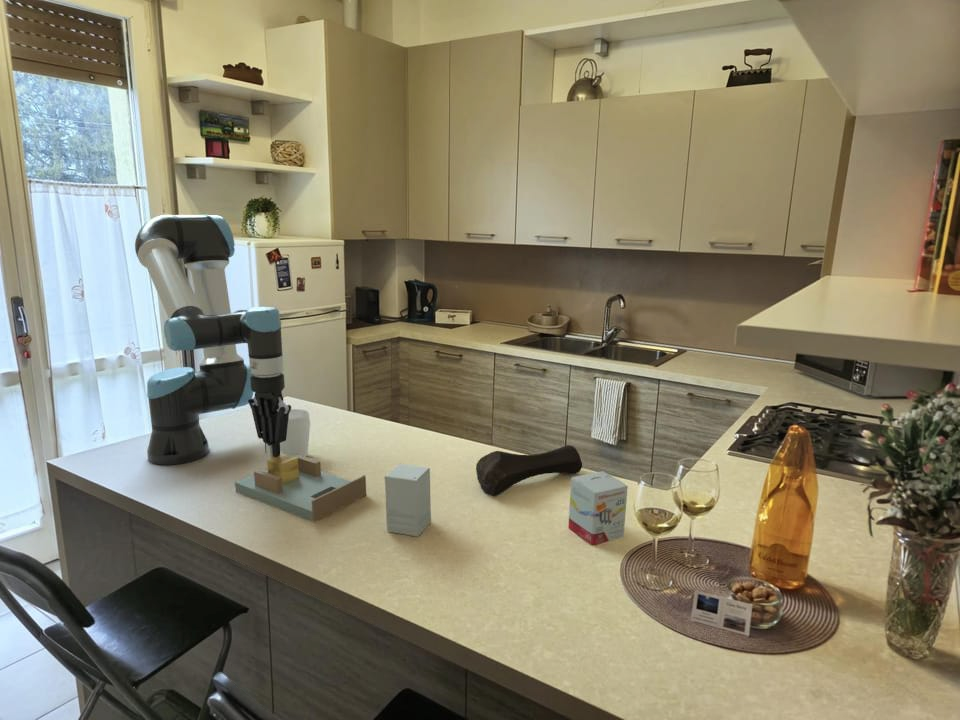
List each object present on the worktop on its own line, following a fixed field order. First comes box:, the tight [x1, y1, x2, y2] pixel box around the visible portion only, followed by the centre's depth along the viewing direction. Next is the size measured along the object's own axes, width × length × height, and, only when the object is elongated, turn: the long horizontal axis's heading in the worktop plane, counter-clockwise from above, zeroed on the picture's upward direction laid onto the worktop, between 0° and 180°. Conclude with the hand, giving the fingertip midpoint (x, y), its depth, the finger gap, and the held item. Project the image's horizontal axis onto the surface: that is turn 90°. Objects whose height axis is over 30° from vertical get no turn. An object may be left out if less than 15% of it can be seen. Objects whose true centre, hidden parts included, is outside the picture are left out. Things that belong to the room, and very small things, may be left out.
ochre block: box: [266, 454, 299, 484], centre depth 151 cm, size 5×5×5 cm
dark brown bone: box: [475, 445, 583, 497], centre depth 156 cm, size 11×10×28 cm
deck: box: [234, 455, 367, 523], centre depth 148 cm, size 27×16×6 cm, turn 57°
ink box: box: [567, 470, 629, 547], centre depth 130 cm, size 9×9×12 cm
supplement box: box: [384, 463, 432, 538], centre depth 132 cm, size 7×7×13 cm
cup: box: [280, 409, 311, 457], centre depth 170 cm, size 9×9×12 cm
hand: (274, 467), depth 152 cm, fingers closed
